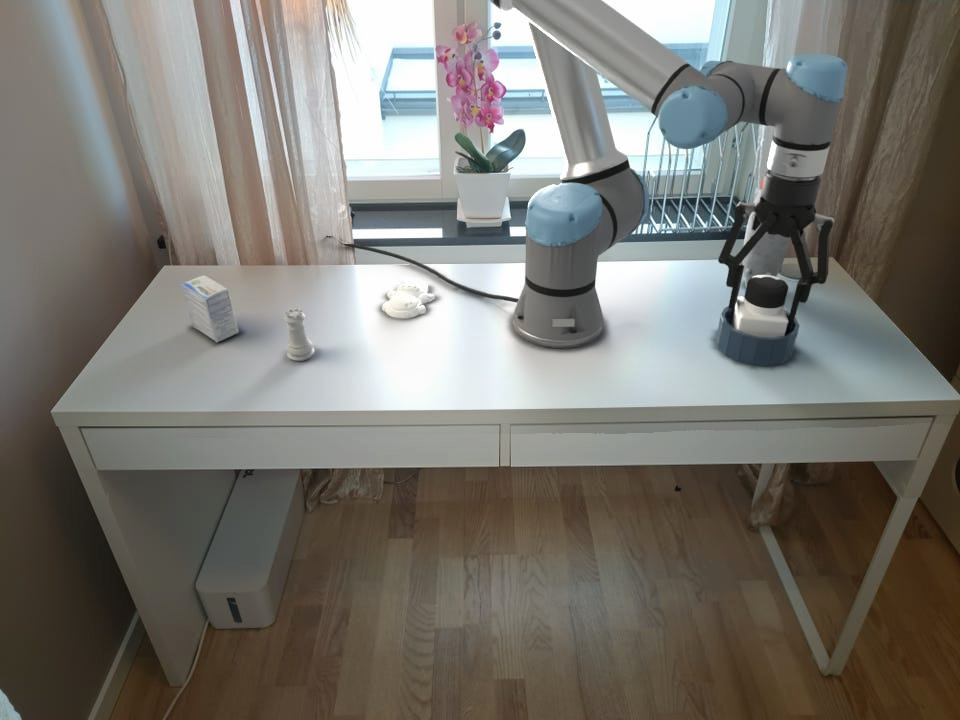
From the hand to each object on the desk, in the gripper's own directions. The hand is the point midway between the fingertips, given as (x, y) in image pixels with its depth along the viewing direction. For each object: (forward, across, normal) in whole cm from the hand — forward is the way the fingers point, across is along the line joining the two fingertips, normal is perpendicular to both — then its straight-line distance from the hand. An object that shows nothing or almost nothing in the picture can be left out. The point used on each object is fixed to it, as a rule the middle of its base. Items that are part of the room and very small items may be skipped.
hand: (761, 311), depth 118 cm
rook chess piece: (+7, -64, -37) cm, 74 cm away
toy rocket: (+7, -4, +21) cm, 22 cm away
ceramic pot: (+7, 0, 0) cm, 7 cm away
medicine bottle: (+7, 0, 0) cm, 7 cm away
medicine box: (+7, -82, -38) cm, 91 cm away
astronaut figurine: (+7, -58, -14) cm, 60 cm away
